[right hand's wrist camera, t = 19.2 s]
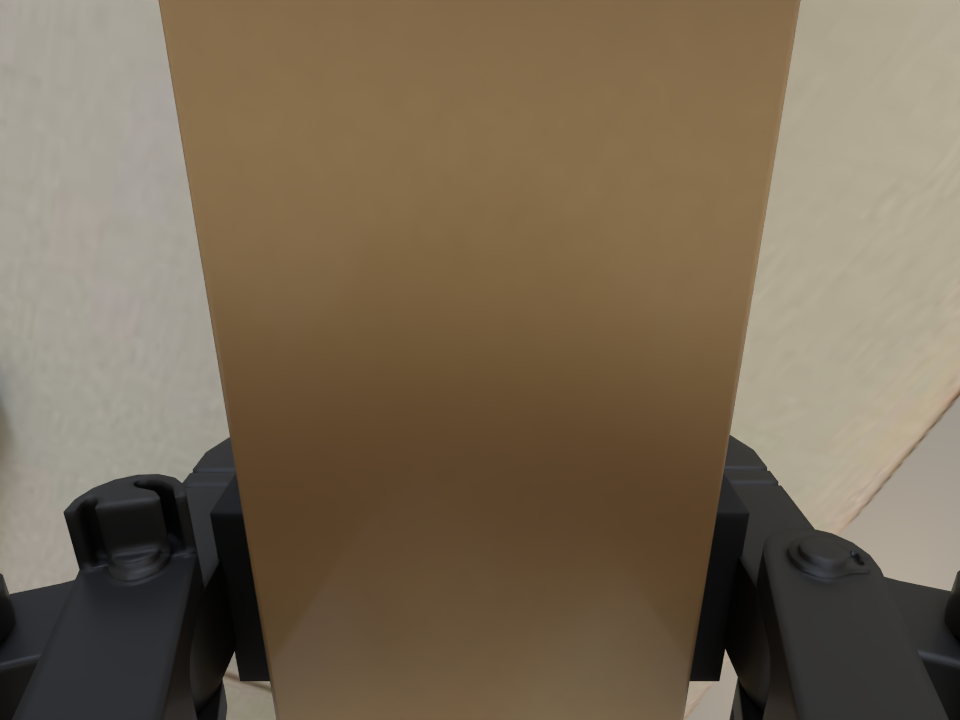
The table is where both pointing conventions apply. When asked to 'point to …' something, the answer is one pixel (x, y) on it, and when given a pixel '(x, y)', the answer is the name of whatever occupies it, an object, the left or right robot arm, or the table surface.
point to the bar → (479, 333)
